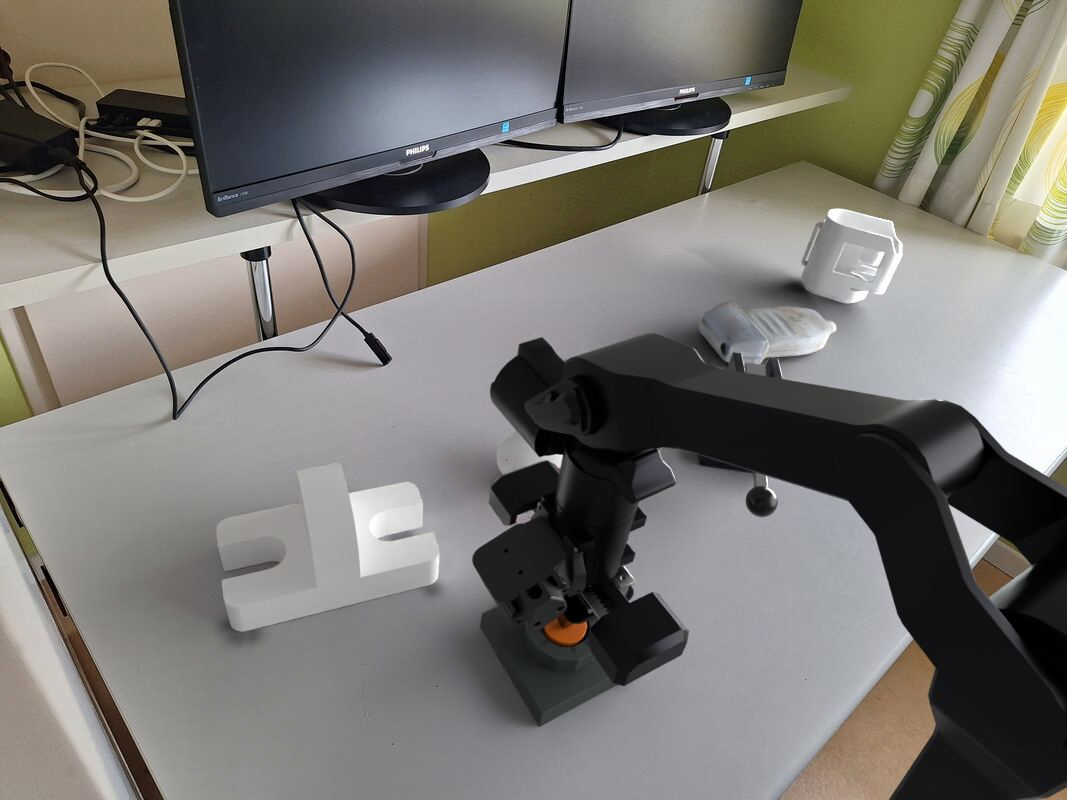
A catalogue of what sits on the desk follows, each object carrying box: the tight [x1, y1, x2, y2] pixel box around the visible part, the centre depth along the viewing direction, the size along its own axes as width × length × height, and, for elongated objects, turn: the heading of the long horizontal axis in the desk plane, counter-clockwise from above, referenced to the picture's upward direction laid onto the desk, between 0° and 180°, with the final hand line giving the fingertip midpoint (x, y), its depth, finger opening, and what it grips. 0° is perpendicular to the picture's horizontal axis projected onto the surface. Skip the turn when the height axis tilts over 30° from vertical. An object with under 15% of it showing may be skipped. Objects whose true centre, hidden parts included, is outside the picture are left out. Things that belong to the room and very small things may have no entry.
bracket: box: [697, 352, 784, 474], centre depth 85 cm, size 10×8×11 cm
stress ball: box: [496, 430, 563, 475], centre depth 79 cm, size 8×8×7 cm
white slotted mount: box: [215, 462, 441, 633], centre depth 66 cm, size 10×18×11 cm, turn 112°
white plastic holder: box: [800, 208, 903, 304], centre depth 113 cm, size 7×12×12 cm, turn 69°
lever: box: [744, 362, 779, 518], centre depth 78 cm, size 18×3×3 cm, turn 175°
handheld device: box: [698, 301, 837, 365], centre depth 103 cm, size 10×20×5 cm, turn 109°
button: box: [541, 618, 587, 647], centre depth 63 cm, size 4×4×2 cm
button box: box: [479, 605, 619, 727], centre depth 64 cm, size 10×10×4 cm
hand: (565, 623), depth 63 cm, fingers closed, pressing on button
